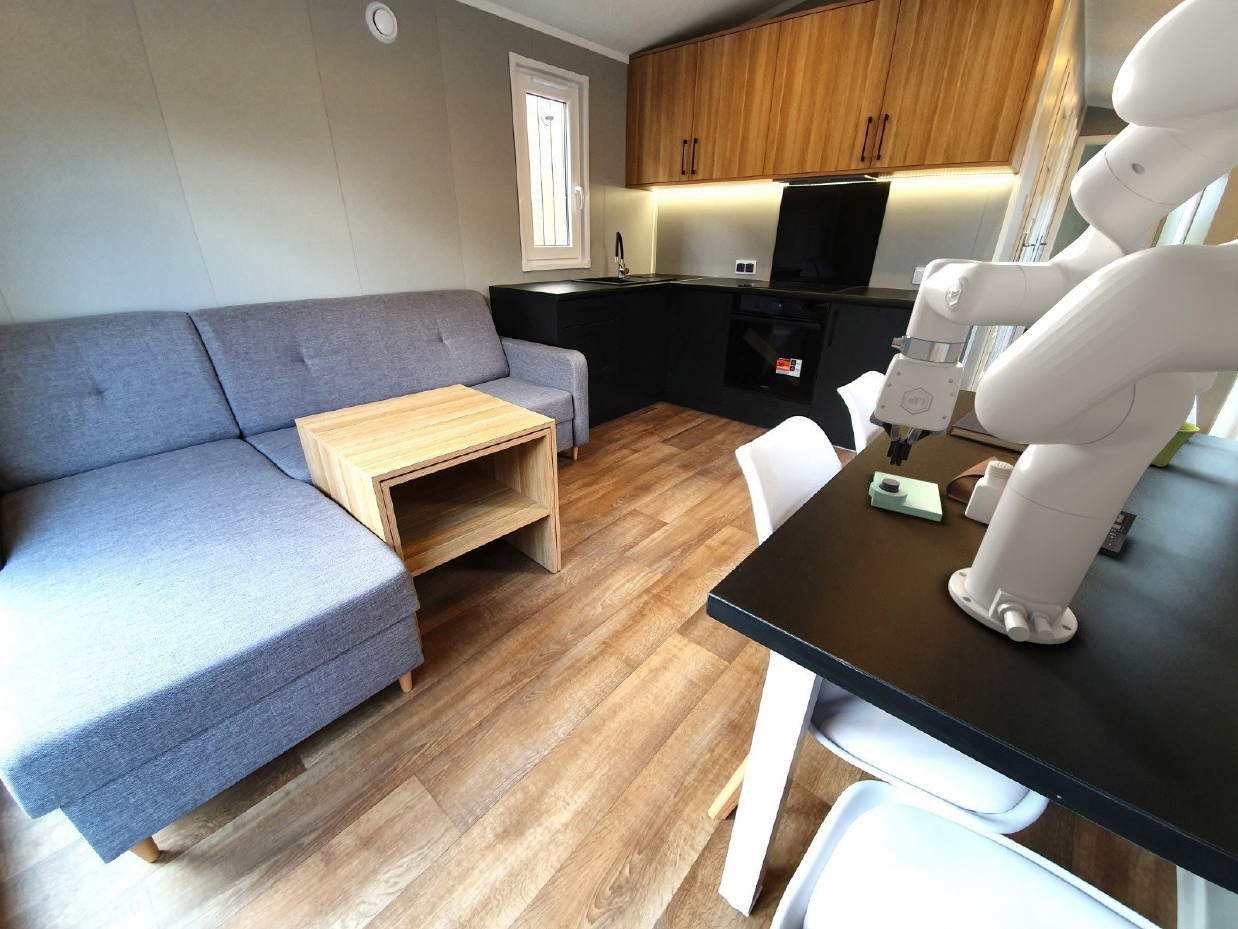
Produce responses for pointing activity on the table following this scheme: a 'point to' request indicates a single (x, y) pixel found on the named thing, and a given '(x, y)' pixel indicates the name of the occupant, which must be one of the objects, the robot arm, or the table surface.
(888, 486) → the tare button
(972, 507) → the pepper shaker
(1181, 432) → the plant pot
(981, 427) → the hardcover book
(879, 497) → the scale
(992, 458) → the sunglasses case
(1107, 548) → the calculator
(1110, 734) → the table surface
